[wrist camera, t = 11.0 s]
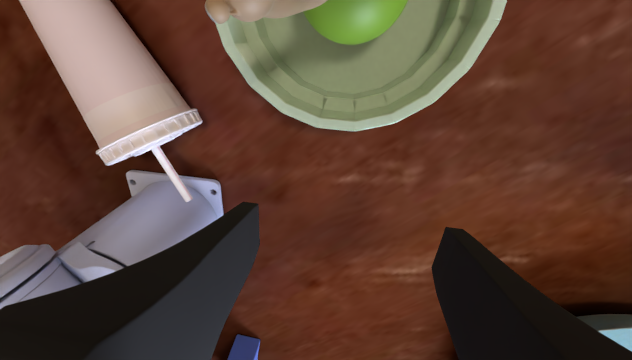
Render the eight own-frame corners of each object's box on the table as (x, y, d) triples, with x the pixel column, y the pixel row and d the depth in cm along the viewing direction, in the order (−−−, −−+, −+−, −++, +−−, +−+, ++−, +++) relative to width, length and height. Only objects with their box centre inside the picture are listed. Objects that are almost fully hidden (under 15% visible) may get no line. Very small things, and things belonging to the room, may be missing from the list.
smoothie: (-40, 11, 14) (129, 232, 18) (-5, -73, 11) (189, 217, 15) (88, 15, 19) (197, 186, 24) (137, -42, 16) (252, 167, 21)
